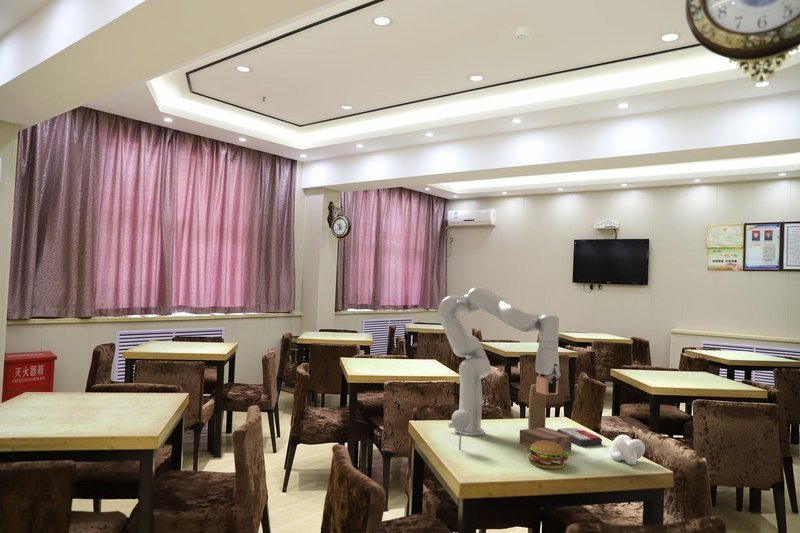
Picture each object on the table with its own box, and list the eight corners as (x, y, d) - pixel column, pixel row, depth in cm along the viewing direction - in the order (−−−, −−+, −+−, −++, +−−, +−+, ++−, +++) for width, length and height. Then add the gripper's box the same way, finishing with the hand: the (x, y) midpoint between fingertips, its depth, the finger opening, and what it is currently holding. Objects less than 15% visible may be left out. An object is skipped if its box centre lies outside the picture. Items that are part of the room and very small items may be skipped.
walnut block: (544, 455, 195) (545, 439, 195) (519, 445, 207) (519, 429, 208) (571, 451, 202) (571, 436, 202) (545, 442, 214) (545, 427, 214)
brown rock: (545, 433, 227) (546, 387, 229) (527, 431, 229) (529, 385, 231) (544, 427, 238) (546, 383, 239) (528, 425, 240) (529, 382, 241)
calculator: (581, 438, 208) (557, 427, 222) (580, 449, 208) (556, 437, 222) (602, 437, 212) (577, 426, 226) (602, 447, 212) (576, 436, 226)
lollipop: (458, 446, 200) (459, 406, 201) (473, 450, 195) (474, 410, 196) (446, 449, 195) (448, 409, 196) (461, 453, 190) (462, 412, 191)
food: (576, 469, 179) (577, 446, 179) (540, 471, 175) (541, 447, 175) (553, 457, 192) (554, 435, 192) (520, 459, 188) (520, 436, 188)
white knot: (600, 458, 193) (601, 434, 194) (622, 455, 199) (622, 431, 200) (627, 468, 184) (627, 442, 184) (648, 464, 189) (649, 439, 190)
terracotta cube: (545, 394, 202) (545, 379, 202) (536, 391, 207) (536, 376, 208) (557, 394, 204) (558, 378, 204) (548, 391, 209) (549, 376, 210)
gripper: (528, 343, 214) (526, 387, 213) (553, 348, 197) (552, 395, 196) (543, 343, 216) (541, 387, 215) (570, 348, 200) (568, 395, 199)
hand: (546, 390), depth 206 cm, fingers closed on terracotta cube, 6 cm apart
